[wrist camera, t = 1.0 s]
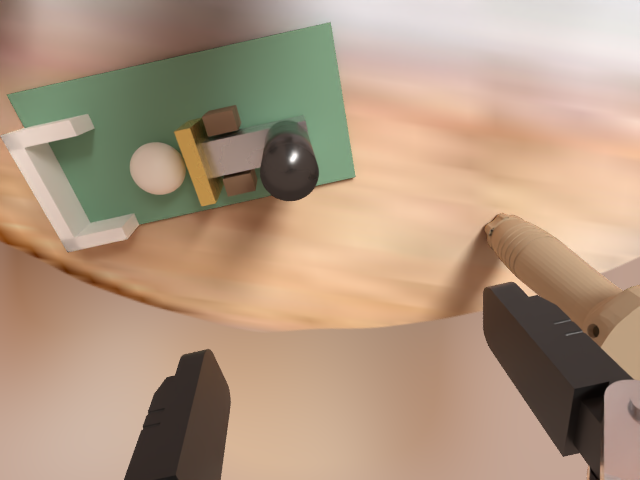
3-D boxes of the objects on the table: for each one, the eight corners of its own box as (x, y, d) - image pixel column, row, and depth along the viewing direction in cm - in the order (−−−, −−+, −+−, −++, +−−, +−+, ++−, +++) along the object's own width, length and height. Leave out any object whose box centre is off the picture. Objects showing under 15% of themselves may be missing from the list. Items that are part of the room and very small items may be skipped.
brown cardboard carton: (208, 110, 27) (201, 116, 25) (236, 104, 27) (231, 110, 25) (232, 185, 29) (228, 196, 27) (257, 179, 29) (255, 190, 27)
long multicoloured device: (299, 95, 27) (308, 117, 18) (313, 164, 29) (327, 211, 21) (188, 120, 27) (145, 153, 18) (211, 187, 29) (182, 243, 21)
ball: (131, 143, 27) (111, 155, 24) (180, 132, 27) (167, 143, 24) (151, 189, 29) (135, 207, 26) (197, 179, 29) (187, 195, 26)
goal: (28, 126, 27) (-1, 135, 24) (90, 112, 27) (69, 120, 24) (86, 234, 31) (67, 252, 28) (140, 222, 30) (127, 239, 28)
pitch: (10, 93, 26) (6, 94, 25) (329, 22, 25) (330, 22, 25) (86, 234, 31) (83, 236, 30) (354, 175, 30) (355, 176, 30)
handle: (462, 256, 35) (575, 385, 21) (489, 190, 32) (638, 290, 19) (509, 262, 36) (647, 391, 22) (539, 198, 33) (716, 301, 19)
